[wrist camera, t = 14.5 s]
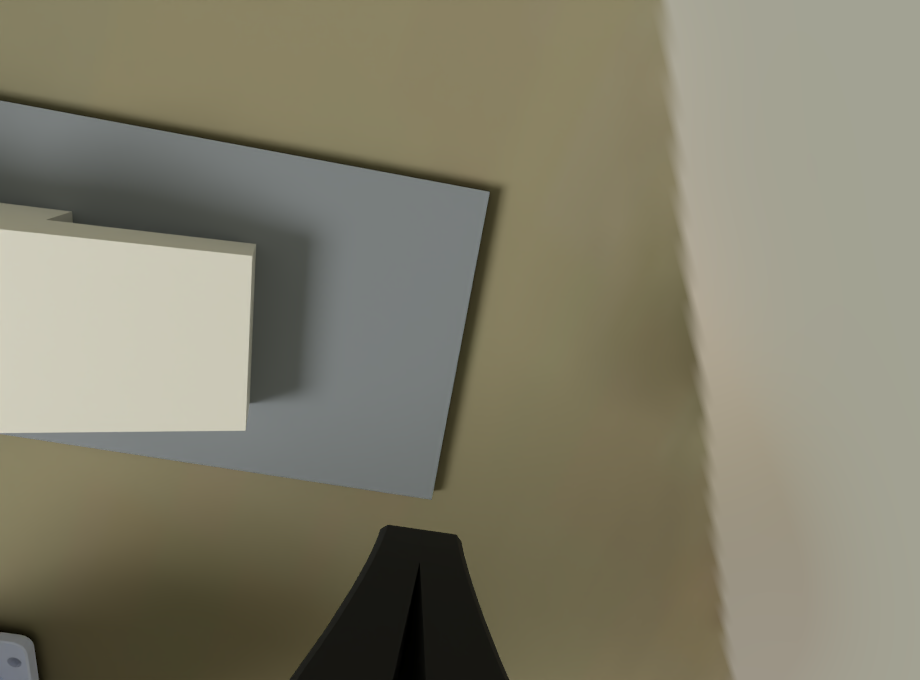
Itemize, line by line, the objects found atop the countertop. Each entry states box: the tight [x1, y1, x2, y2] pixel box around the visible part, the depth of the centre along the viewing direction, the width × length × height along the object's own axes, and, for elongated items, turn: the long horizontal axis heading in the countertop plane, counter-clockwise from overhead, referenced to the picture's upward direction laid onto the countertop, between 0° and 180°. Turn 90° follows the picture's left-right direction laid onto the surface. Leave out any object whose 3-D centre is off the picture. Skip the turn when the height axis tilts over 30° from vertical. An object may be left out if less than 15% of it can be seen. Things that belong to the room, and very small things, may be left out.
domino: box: [0, 215, 256, 433], centre depth 12 cm, size 5×2×8 cm
